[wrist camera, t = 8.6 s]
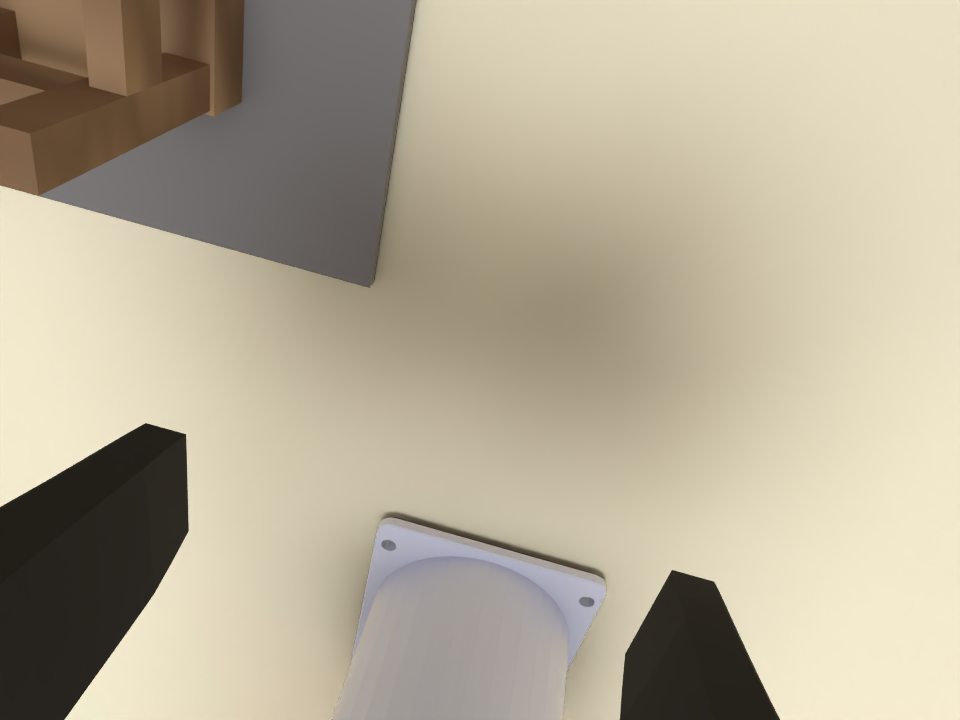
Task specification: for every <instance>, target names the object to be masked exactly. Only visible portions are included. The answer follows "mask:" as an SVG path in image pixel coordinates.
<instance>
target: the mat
mask: <svg viewBox="0 0 960 720" xmlns="http://www.w3.org/2000/svg"><path fill="white" fill-rule="evenodd" d="M415 5H416V0H245V3H244V39H243V75H242V102H241V103H239V104H237V105H236V106H234V107H232V108H230V109H228V110H226V111H224V112H222V113H220V114H218V115H216V116H210V115H206V114H203V115H201V116H199V117H197V118H195V119H193V120H191V121H189V122H187V123H185V124H183V125H181V126H179V127H177V128H174V129H172V130H170V131H168V132H166V133H164V134H162V135H160V136H158V137H156V138H154V139H152V140H150V141H148V142H146V143H144V144H142V145H140V146H138V147H136V148H134V149H132V150H130V151H128V152H126V153H124V154H122V155H120V156H118V157H116V158H114V159H112V160H110V161H108V162H106V163H104V164H102V165H100V166H98V167H96V168H94V169H92V170H90V171H88V172H86V173H84V174H82V175H80V176H78V177H76V178H74V179H72V180H70V181H68V182H66V183H64V184H62V185H60V186H58V187H56V188H54V189H52V190H50V191H48V192H46V193H44V194H42V195H40V196H41V197H44V198H48V199H52V200H55V201H59V202H62V203H66V204H70V205H73V206H77V207H80V208H84V209H88V210H91V211H95V212H98V213H102V214H106V215H109V216H113V217H116V218H120V219H124V220H127V221H131V222H134V223H138V224H142V225H145V226H149V227H152V228H156V229H160V230H163V231H167V232H170V233H174V234H178V235H181V236H185V237H188V238H192V239H196V240H199V241H203V242H206V243H210V244H214V245H217V246H221V247H224V248H228V249H232V250H235V251H239V252H242V253H246V254H250V255H253V256H257V257H261V258H264V259H268V260H271V261H275V262H279V263H282V264H286V265H289V266H293V267H297V268H300V269H304V270H307V271H311V272H315V273H318V274H322V275H325V276H329V277H333V278H336V279H340V280H343V281H347V282H351V283H354V284H358V285H361V286H365V287H369V288H370V286H371V285H372V283H373V282H374V277H375V270H376V264H377V257H378V250H379V244H380V237H381V230H382V224H383V217H384V211H385V204H386V197H387V191H388V184H389V177H390V171H391V164H392V158H393V151H394V144H395V138H396V131H397V124H398V118H399V111H400V105H401V98H402V91H403V85H404V78H405V71H406V65H407V58H408V52H409V45H410V38H411V32H412V25H413V18H414V12H415Z"/></svg>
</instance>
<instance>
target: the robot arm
mask: <svg viewBox="0 0 960 720" xmlns="http://www.w3.org/2000/svg"><path fill="white" fill-rule="evenodd" d="M188 531H189V528H188V491H187V453H186V434H183V433H179V432H176V431H172V430H168V429H165V428H161V427H158V426H154V425H150V424H147V423H145V424H143V425H142V426H140V427H138V428H136V429H135V430H133V431H131V432H129V433H127V434H126V435H124V436H122V437H120V438H119V439H117V440H115V441H114V442H112V443H110V444H109V445H107V446H105V447H103V448H102V449H100V450H98V451H97V452H95V453H93V454H92V455H90V456H88V457H87V458H85V459H83V460H81V461H80V462H78V463H76V464H75V465H73V466H71V467H70V468H68V469H66V470H64V471H63V472H61V473H59V474H58V475H56V476H54V477H52V478H51V479H49V480H47V481H46V482H44V483H42V484H40V485H38V486H37V487H35V488H33V489H31V490H30V491H28V492H26V493H24V494H23V495H21V496H19V497H17V498H15V499H14V500H12V501H10V502H8V503H7V504H5V505H3V506H1V507H0V720H64V719H65V718H66V717H67V715H68V714H69V712H70V711H71V710H72V708H73V707H74V706H75V704H76V703H77V701H78V700H79V699H80V697H81V696H82V694H83V693H84V692H85V690H86V689H87V687H88V686H89V685H90V683H91V682H92V680H93V679H94V678H95V676H96V675H97V673H98V672H99V671H100V669H101V668H102V667H103V665H104V664H105V662H106V661H107V660H108V658H109V657H110V655H111V654H112V653H113V651H114V650H115V648H116V647H117V646H118V644H119V643H120V641H121V640H122V639H123V637H124V636H125V634H126V633H127V632H128V630H129V629H130V627H131V626H132V624H133V623H134V622H135V620H136V619H137V617H138V616H139V615H140V613H141V612H142V610H143V609H144V608H145V606H146V605H147V603H148V602H149V600H150V599H151V597H152V596H153V595H154V593H155V591H156V589H157V588H158V586H159V584H160V582H161V581H162V579H163V577H164V575H165V574H166V572H167V570H168V568H169V566H170V565H171V563H172V561H173V559H174V557H175V555H176V553H177V552H178V550H179V548H180V546H181V544H182V542H183V540H184V538H185V537H186V535H187V533H188ZM388 540H390V541H392V542H390V541H388ZM605 596H606V582H605V580H604V579H602V578H601V577H599V576H597V575H595V574H591V573H587V572H584V571H580V570H577V569H573V568H570V567H566V566H563V565H559V564H556V563H552V562H549V561H545V560H542V559H538V558H535V557H531V556H528V555H524V554H520V553H517V552H513V551H510V550H506V549H503V548H499V547H496V546H492V545H489V544H485V543H482V542H478V541H475V540H471V539H468V538H464V537H461V536H457V535H453V534H450V533H446V532H443V531H439V530H436V529H432V528H429V527H425V526H422V525H418V524H415V523H411V522H408V521H404V520H401V519H397V518H391V517H390V518H385V519H383V520H382V521H381V522H380V524H379V527H378V529H377V533H376V538H375V543H374V548H373V553H372V558H371V563H370V568H369V573H368V578H367V583H366V588H365V593H364V598H363V603H362V609H361V614H360V619H359V624H358V629H357V634H356V639H355V644H354V649H353V654H352V659H351V664H350V668H349V671H348V674H347V677H346V680H345V682H344V685H343V688H342V691H341V694H340V697H339V699H338V702H337V705H336V708H335V711H334V713H333V716H332V719H331V720H563V714H564V700H565V685H566V673H567V671H568V669H569V667H570V665H571V663H572V661H573V659H574V657H575V655H576V653H577V651H578V649H579V647H580V645H581V643H582V641H583V639H584V637H585V635H586V633H587V631H588V630H589V628H590V626H591V624H592V622H593V620H594V618H595V616H596V614H597V612H598V610H599V608H600V606H601V604H602V602H603V600H604V598H605ZM588 597H589V598H588ZM620 720H780V719H779V717H778V715H777V713H776V711H775V709H774V707H773V705H772V703H771V701H770V699H769V697H768V695H767V693H766V691H765V689H764V686H763V684H762V682H761V680H760V678H759V676H758V674H757V672H756V670H755V668H754V666H753V663H752V661H751V659H750V657H749V655H748V653H747V651H746V649H745V646H744V644H743V642H742V640H741V638H740V636H739V634H738V631H737V629H736V627H735V625H734V623H733V620H732V618H731V616H730V614H729V612H728V610H727V607H726V605H725V603H724V601H723V599H722V597H721V594H720V592H719V590H718V588H717V586H716V585H715V583H714V582H713V581H709V580H706V579H702V578H699V577H695V576H691V575H688V574H684V573H681V572H677V571H674V570H672V571H671V573H670V575H669V577H668V578H667V580H666V582H665V584H664V585H663V587H662V589H661V591H660V593H659V594H658V596H657V598H656V600H655V602H654V603H653V605H652V607H651V609H650V611H649V612H648V614H647V616H646V618H645V620H644V621H643V623H642V625H641V627H640V629H639V630H638V632H637V634H636V636H635V638H634V639H633V641H632V643H631V645H630V647H629V648H628V650H627V652H626V654H625V663H624V675H623V686H622V699H621V713H620Z"/></svg>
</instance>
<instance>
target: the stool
mask: <svg viewBox="0 0 960 720" xmlns="http://www.w3.org/2000/svg"><path fill="white" fill-rule="evenodd" d="M244 3H245V0H0V185H1V186H5V187H8V188H12V189H15V190H19V191H23V192H26V193H30V194H33V195H37V196H40V195H42V194H44V193H46V192H48V191H50V190H52V189H54V188H56V187H58V186H60V185H62V184H64V183H66V182H68V181H70V180H72V179H74V178H76V177H78V176H80V175H82V174H84V173H86V172H88V171H90V170H92V169H94V168H96V167H98V166H100V165H102V164H104V163H106V162H108V161H110V160H112V159H114V158H116V157H118V156H120V155H122V154H124V153H126V152H128V151H130V150H132V149H134V148H136V147H138V146H140V145H142V144H144V143H146V142H148V141H150V140H152V139H154V138H156V137H158V136H160V135H162V134H164V133H166V132H168V131H170V130H172V129H174V128H177V127H179V126H181V125H183V124H185V123H187V122H189V121H191V120H193V119H195V118H197V117H199V116H201V115H203V114H206V115H210V116H216V115H218V114H220V113H222V112H224V111H226V110H228V109H230V108H232V107H234V106H236V105H237V104H239V103H241V102H242V75H243V39H244Z"/></svg>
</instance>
